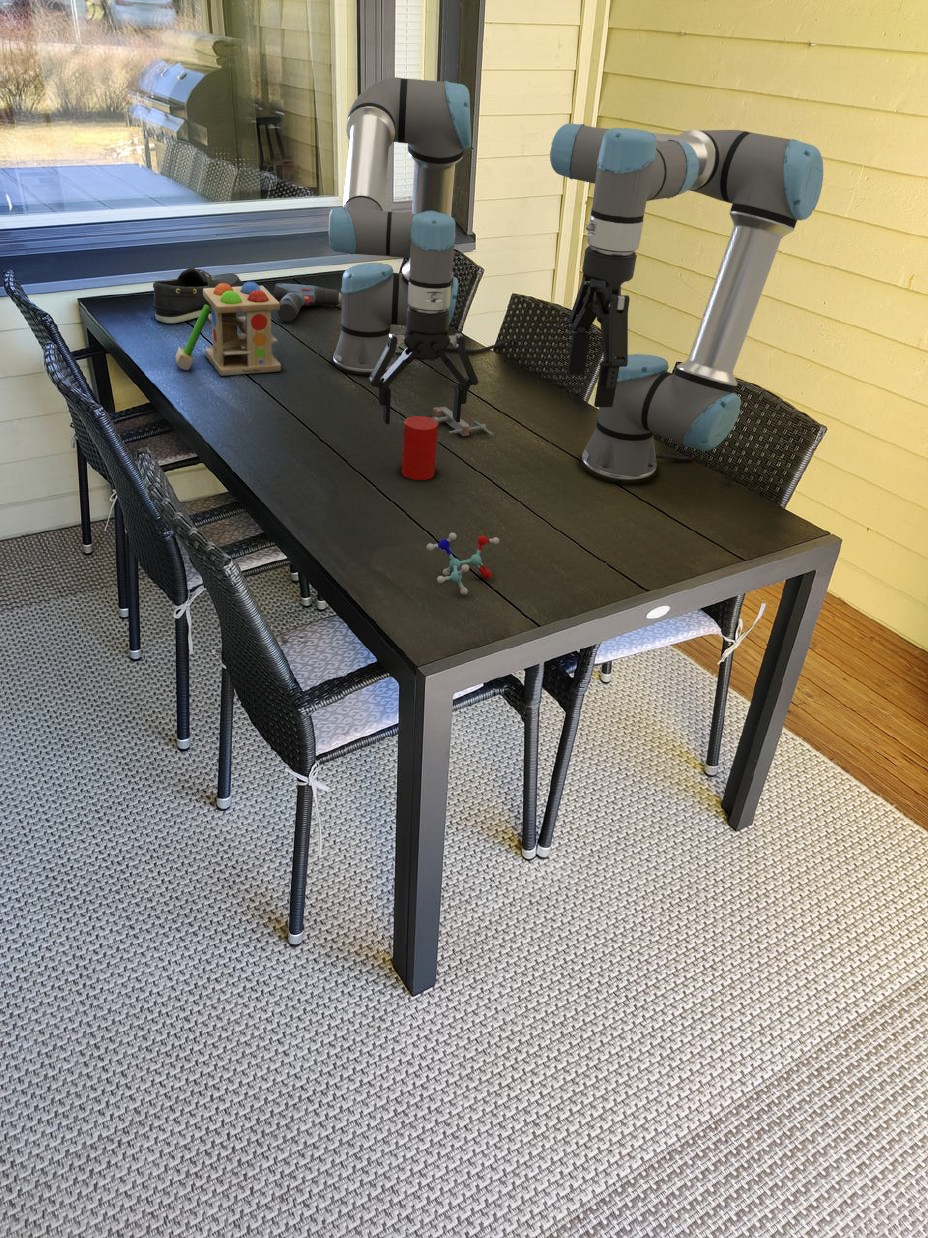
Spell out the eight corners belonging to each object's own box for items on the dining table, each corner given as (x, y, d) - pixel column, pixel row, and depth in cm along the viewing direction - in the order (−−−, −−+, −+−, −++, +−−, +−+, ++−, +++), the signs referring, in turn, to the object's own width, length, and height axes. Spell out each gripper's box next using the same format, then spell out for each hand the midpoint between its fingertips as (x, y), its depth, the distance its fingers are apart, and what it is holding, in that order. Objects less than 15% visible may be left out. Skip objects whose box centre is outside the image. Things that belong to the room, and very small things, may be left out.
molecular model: (490, 589, 152) (470, 528, 150) (436, 605, 155) (416, 545, 154) (511, 574, 162) (492, 517, 161) (460, 589, 166) (441, 533, 164)
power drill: (335, 306, 256) (344, 285, 273) (264, 300, 255) (277, 279, 272) (335, 327, 259) (344, 304, 276) (264, 320, 258) (277, 299, 275)
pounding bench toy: (183, 379, 220) (176, 299, 210) (169, 357, 231) (162, 280, 221) (282, 371, 230) (280, 294, 220) (264, 350, 240) (262, 276, 230)
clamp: (420, 409, 212) (460, 403, 217) (420, 418, 213) (460, 412, 218) (454, 436, 202) (496, 430, 206) (454, 446, 203) (495, 439, 208)
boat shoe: (261, 302, 273) (259, 263, 267) (172, 325, 249) (168, 283, 243) (227, 293, 278) (225, 255, 273) (137, 316, 254) (132, 274, 249)
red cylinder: (411, 462, 195) (414, 413, 189) (439, 470, 193) (443, 421, 187) (395, 474, 190) (398, 423, 184) (425, 483, 188) (428, 432, 182)
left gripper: (362, 313, 168) (359, 429, 179) (501, 314, 174) (490, 426, 186) (355, 300, 173) (352, 414, 185) (489, 301, 180) (479, 411, 192)
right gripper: (561, 226, 150) (543, 360, 162) (616, 272, 130) (591, 421, 142) (607, 228, 152) (586, 361, 164) (668, 273, 132) (639, 421, 144)
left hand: (421, 420), depth 185 cm, fingers open, 13 cm apart
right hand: (588, 389), depth 153 cm, fingers open, 13 cm apart
